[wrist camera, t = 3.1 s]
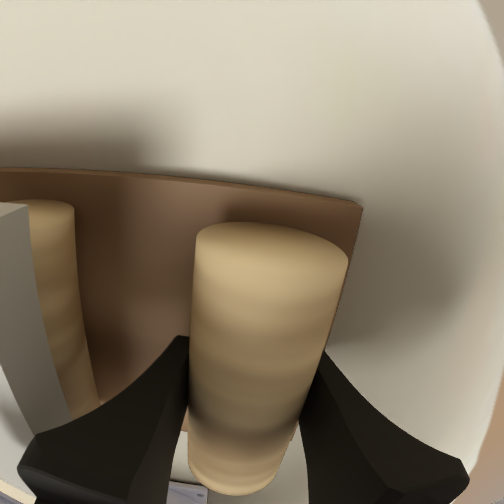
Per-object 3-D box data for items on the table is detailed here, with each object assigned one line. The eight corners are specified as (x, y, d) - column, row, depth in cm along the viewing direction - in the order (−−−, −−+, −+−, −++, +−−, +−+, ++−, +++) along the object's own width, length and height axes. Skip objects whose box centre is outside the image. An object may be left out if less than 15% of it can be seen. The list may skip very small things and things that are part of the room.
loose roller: (275, 428, 14) (281, 497, 10) (193, 421, 14) (182, 489, 10) (328, 231, 10) (369, 286, 7) (206, 215, 10) (182, 264, 6)
